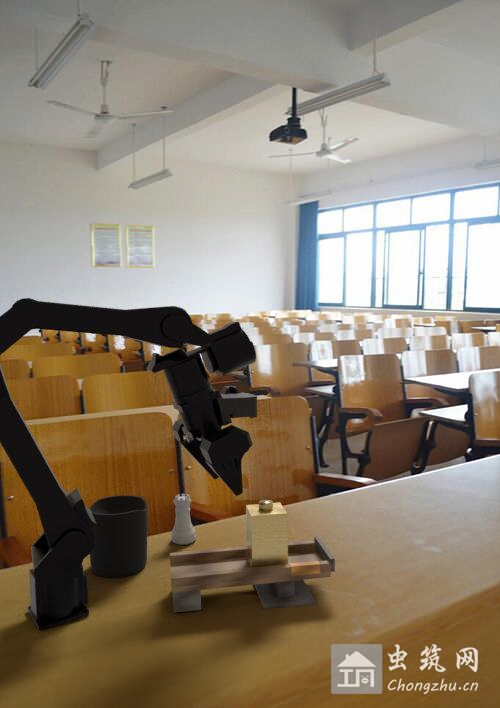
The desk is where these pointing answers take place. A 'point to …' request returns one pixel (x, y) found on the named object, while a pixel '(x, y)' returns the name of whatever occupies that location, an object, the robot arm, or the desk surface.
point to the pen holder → (119, 536)
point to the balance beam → (249, 574)
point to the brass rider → (266, 534)
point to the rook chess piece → (183, 522)
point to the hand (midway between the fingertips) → (227, 485)
